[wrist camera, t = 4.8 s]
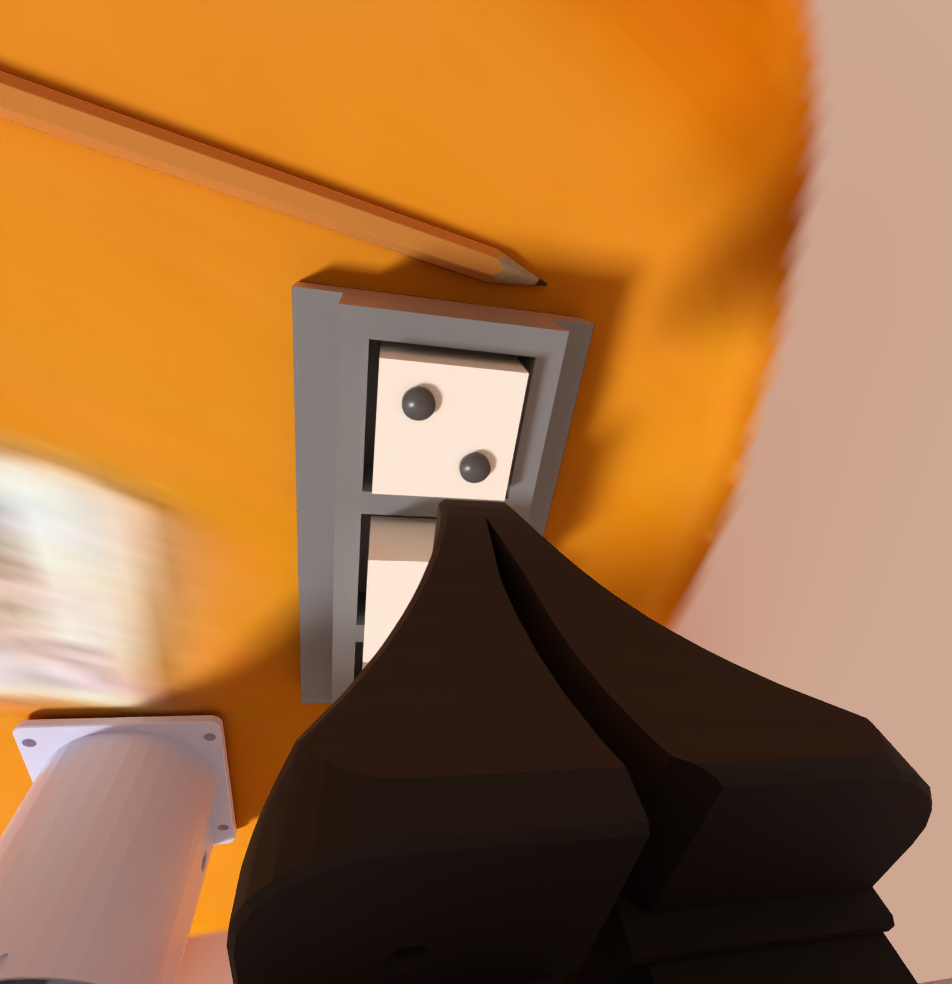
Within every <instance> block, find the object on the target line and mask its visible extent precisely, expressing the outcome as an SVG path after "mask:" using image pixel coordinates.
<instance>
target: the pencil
mask: <svg viewBox="0 0 952 984" xmlns="http://www.w3.org/2000/svg"><path fill="white" fill-rule="evenodd" d="M0 118H2V119H5V120H8V121H11V122H14V123H17V124H20V125H23V126H26V127H29V128H32V129H35V130H37V131H40V132H43V133H46V134H49V135H52V136H55V137H58V138H61V139H64V140H67V141H70V142H73V143H76V144H79V145H82V146H85V147H88V148H91V149H94V150H97V151H100V152H103V153H106V154H109V155H111V156H114V157H117V158H120V159H123V160H126V161H129V162H132V163H135V164H138V165H141V166H144V167H147V168H150V169H153V170H156V171H159V172H162V173H165V174H168V175H171V176H174V177H177V178H180V179H183V180H186V181H188V182H191V183H194V184H197V185H200V186H203V187H206V188H209V189H212V190H215V191H218V192H221V193H224V194H227V195H230V196H233V197H236V198H239V199H242V200H245V201H248V202H251V203H254V204H257V205H260V206H262V207H265V208H268V209H271V210H274V211H277V212H280V213H283V214H286V215H289V216H292V217H295V218H298V219H301V220H304V221H307V222H310V223H313V224H316V225H319V226H322V227H325V228H328V229H331V230H334V231H336V232H339V233H342V234H345V235H348V236H351V237H354V238H357V239H360V240H363V241H366V242H369V243H372V244H375V245H378V246H381V247H384V248H387V249H390V250H393V251H396V252H399V253H402V254H405V255H408V256H411V257H413V258H416V259H419V260H422V261H425V262H428V263H431V264H434V265H437V266H440V267H443V268H446V269H449V270H452V271H455V272H458V273H461V274H464V275H467V276H470V277H473V278H476V279H479V280H482V281H485V282H488V283H506V284H525V285H544V286H547V284H546V283H545V282H544V281H542V280H541V279H539V278H538V277H537V276H535V275H534V274H532V273H531V272H530V271H528V270H527V269H525V268H524V267H523V266H521V265H520V264H518V263H517V262H516V261H514V260H513V259H511V258H510V257H508V256H507V255H506V254H504V253H503V252H501V251H500V250H499V249H497V248H494V247H491V246H488V245H485V244H483V243H480V242H477V241H474V240H472V239H469V238H466V237H463V236H460V235H458V234H455V233H452V232H449V231H446V230H444V229H441V228H438V227H435V226H432V225H430V224H427V223H424V222H421V221H419V220H416V219H413V218H410V217H407V216H405V215H402V214H399V213H396V212H393V211H391V210H388V209H385V208H382V207H379V206H377V205H374V204H371V203H368V202H366V201H363V200H360V199H357V198H354V197H352V196H349V195H346V194H343V193H340V192H338V191H335V190H332V189H329V188H326V187H324V186H321V185H318V184H315V183H313V182H310V181H307V180H304V179H301V178H299V177H296V176H293V175H290V174H287V173H285V172H282V171H279V170H276V169H273V168H271V167H268V166H265V165H262V164H260V163H257V162H254V161H251V160H248V159H246V158H243V157H240V156H237V155H234V154H232V153H229V152H226V151H223V150H220V149H218V148H215V147H212V146H209V145H207V144H204V143H201V142H198V141H195V140H193V139H190V138H187V137H184V136H181V135H179V134H176V133H173V132H170V131H167V130H165V129H162V128H159V127H156V126H154V125H151V124H148V123H145V122H142V121H140V120H137V119H134V118H131V117H128V116H126V115H123V114H120V113H117V112H115V111H112V110H109V109H106V108H103V107H101V106H98V105H95V104H92V103H89V102H87V101H84V100H81V99H78V98H75V97H73V96H70V95H67V94H64V93H62V92H59V91H56V90H53V89H50V88H48V87H45V86H42V85H39V84H36V83H34V82H31V81H28V80H25V79H22V78H20V77H17V76H14V75H11V74H9V73H6V72H3V71H0Z"/></svg>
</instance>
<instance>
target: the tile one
mask: <svg viewBox="0 0 952 984" xmlns="http://www.w3.org/2000/svg"><path fill="white" fill-rule="evenodd" d="M435 527H436V519H431V518H409V517H387V516H371V522H370V539H369V555H368V573H367V591H366V610H365V628H364V646H363V662H369V661H370V660H371V659H372V658H373V656H374V655H375V654H376V653H377V651H378V650H379V649H380V647H381V646H382V644H383V643H384V642H385V640H386V639H387V637H388V636H389V634H390V633H391V631H392V630H393V628H394V627H395V625H396V624H397V622H398V621H399V619H400V618H401V616H402V614H403V613H404V611H405V609H406V608H407V606H408V604H409V602H410V601H411V599H412V597H413V595H414V593H415V591H416V589H417V587H418V585H419V583H420V581H421V579H422V576H423V574H424V572H425V569H426V567H427V565H428V562H429V560H430V557H431V555H432V552H433V543H434V535H435Z"/></svg>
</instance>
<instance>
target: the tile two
mask: <svg viewBox="0 0 952 984" xmlns="http://www.w3.org/2000/svg"><path fill="white" fill-rule="evenodd" d="M528 376H529V373H528V372H527V370H526V369H525V368H524V367H523V365H522V364H521V363H520V362H519V360H518V359H517V358H516V357H515V355H510V354H501V353H492V352H483V351H474V350H465V349H456V348H447V347H437V346H428V345H419V344H410V343H401V342H392V341H383V340H381V343H380V357H379V375H378V394H377V412H376V430H375V448H374V467H373V485H372V494H387V495H406V496H424V497H443V498H462V499H480V500H499V501H505V496H506V490H507V485H508V480H509V475H510V469H511V464H512V459H513V454H514V449H515V443H516V438H517V433H518V428H519V423H520V417H521V412H522V407H523V402H524V397H525V391H526V386H527V381H528Z"/></svg>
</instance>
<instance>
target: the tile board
mask: <svg viewBox="0 0 952 984" xmlns="http://www.w3.org/2000/svg"><path fill="white" fill-rule="evenodd" d="M292 309H293V353H294V398H295V443H296V488H297V533H298V578H299V623H300V668H301V704H330V703H331V705H332V704H333V703H334V702H335V701H336V700H337V699H338V698H339V697H340V696H341V695H342V693H343V692H344V691H345V690H346V689H347V688H348V687H349V686H350V684H351V683H352V682H353V681H354V680H355V678H356V677H357V676H358V675H359V673H360V672H361V671H362V667H363V646H364V628H365V610H366V591H367V573H368V555H369V539H370V522H371V516H387V517H409V518H431V519H437V511H438V504H439V503H440V502H442V501H443V500H444V499H451V500H470V501H489V502H505V503H506V504H507V505H509V506H510V507H511V508H512V509H513V510H514V511H515V512H517V513H518V514H519V515H520V516H521V517H522V518H523V519H524V520H525V521H526V522H527V523H528V524H529V525H531V526H532V527H533V528H534V529H535V530H536V531H537V532H538V533H539V534H540V535H541V536H542V537H543V536H544V532H545V528H546V524H547V520H548V515H549V511H550V507H551V503H552V499H553V495H554V490H555V486H556V482H557V478H558V474H559V470H560V466H561V461H562V457H563V453H564V449H565V445H566V441H567V436H568V432H569V428H570V424H571V420H572V416H573V412H574V407H575V403H576V399H577V395H578V391H579V387H580V383H581V378H582V374H583V370H584V366H585V362H586V358H587V353H588V349H589V345H590V341H591V337H592V333H593V329H594V324H593V323H592V322H590V321H588V320H587V319H585V318H581V317H573V316H565V315H557V314H549V313H542V312H534V311H526V310H518V309H510V308H502V307H494V306H487V305H479V304H471V303H463V302H455V301H447V300H439V299H432V298H424V297H416V296H408V295H400V294H392V293H384V292H376V291H369V290H361V289H353V288H345V287H337V286H329V285H321V284H314V283H306V282H298V281H297V282H296V283H295V284H294V285H293V286H292ZM381 340H383V341H392V342H401V343H410V344H419V345H428V346H437V347H447V348H456V349H465V350H474V351H483V352H492V353H501V354H510V355H515V357H516V358H517V359H518V360H519V362H520V363H521V364H522V365H523V367H524V368H525V369H526V370H527V372H528V373H529V376H528V381H527V386H526V391H525V397H524V402H523V407H522V412H521V417H520V423H519V428H518V433H517V438H516V443H515V449H514V454H513V459H512V464H511V469H510V475H509V480H508V485H507V490H506V496H505V501H499V500H480V499H462V498H443V497H424V496H406V495H387V494H372V485H373V467H374V448H375V430H376V412H377V394H378V375H379V357H380V343H381Z"/></svg>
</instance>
